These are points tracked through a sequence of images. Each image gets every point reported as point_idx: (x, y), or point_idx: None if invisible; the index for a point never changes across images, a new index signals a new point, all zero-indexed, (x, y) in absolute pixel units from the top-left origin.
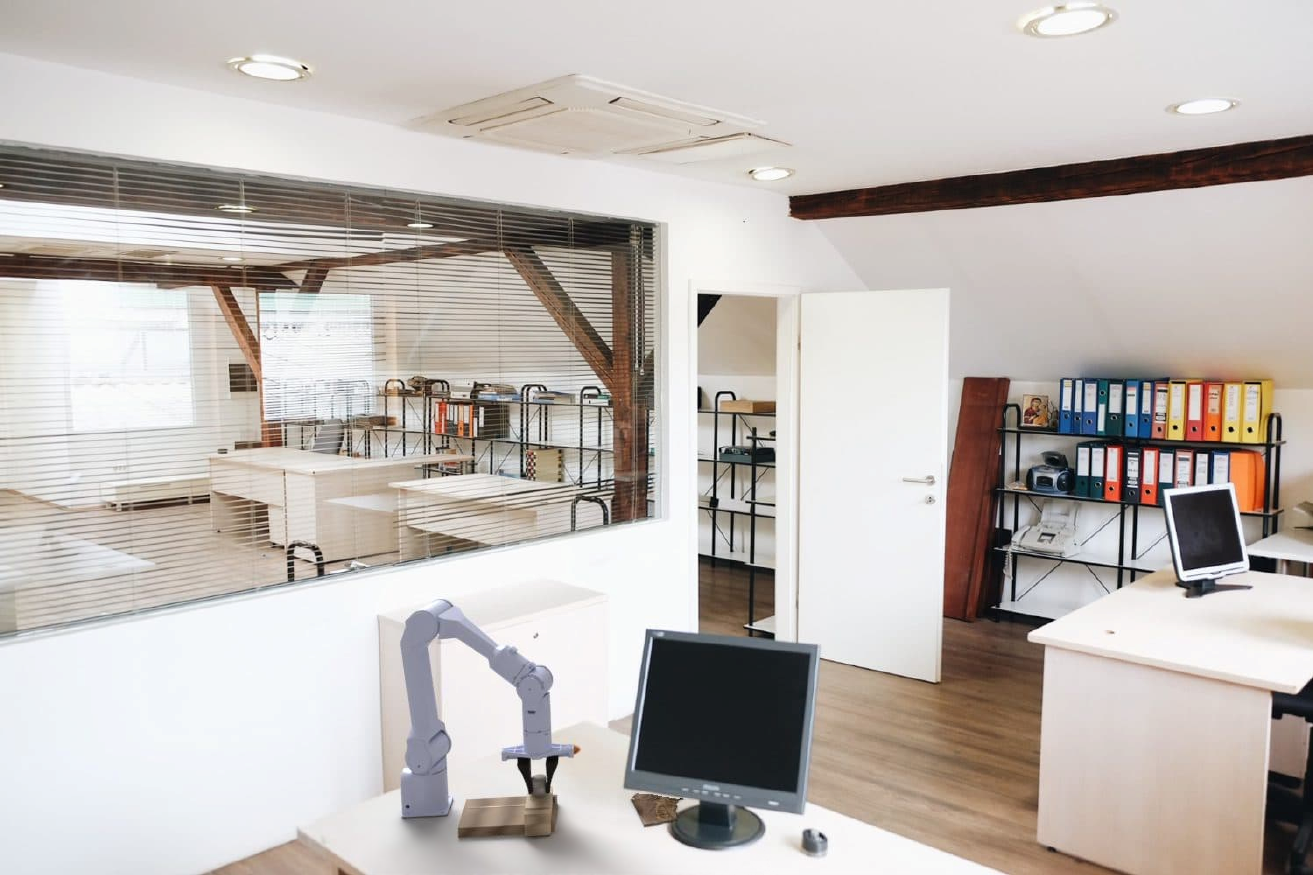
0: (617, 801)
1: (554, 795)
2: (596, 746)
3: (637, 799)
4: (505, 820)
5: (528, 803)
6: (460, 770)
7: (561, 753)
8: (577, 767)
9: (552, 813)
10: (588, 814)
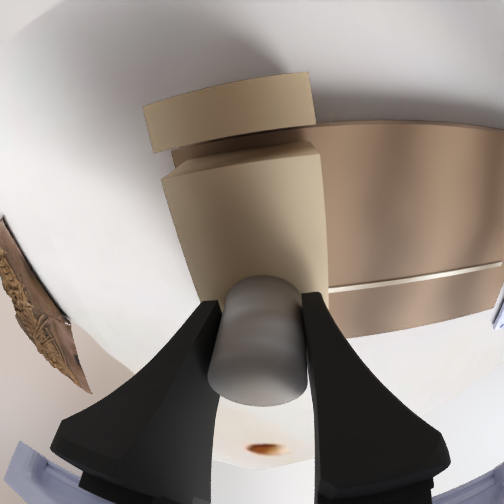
0: (92, 321)
1: None
2: (223, 450)
3: (59, 319)
4: (404, 169)
5: (309, 215)
6: (449, 399)
7: (40, 491)
8: (234, 424)
9: None
10: (122, 268)
